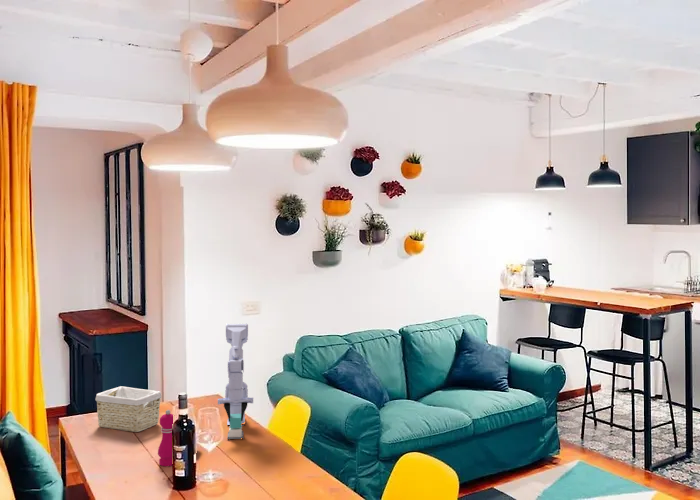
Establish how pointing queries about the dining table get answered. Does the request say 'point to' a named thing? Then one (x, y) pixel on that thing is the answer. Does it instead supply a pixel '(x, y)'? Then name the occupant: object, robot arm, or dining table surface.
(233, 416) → the teal brick
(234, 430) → the cream brick
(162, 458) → the pepper mill
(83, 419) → the dining table surface
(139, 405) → the storage basket
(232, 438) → the baseplate
